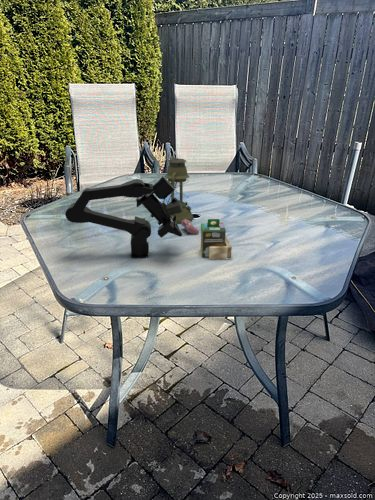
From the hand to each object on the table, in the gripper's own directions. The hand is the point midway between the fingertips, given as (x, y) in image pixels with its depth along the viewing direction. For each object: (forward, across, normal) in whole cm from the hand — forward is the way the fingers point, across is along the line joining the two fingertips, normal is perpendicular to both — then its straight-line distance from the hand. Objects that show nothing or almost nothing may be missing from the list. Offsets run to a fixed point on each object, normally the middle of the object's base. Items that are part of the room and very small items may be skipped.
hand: (181, 235), depth 149 cm
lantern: (+7, +42, +12) cm, 45 cm away
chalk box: (+14, 0, -4) cm, 15 cm away
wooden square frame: (+15, +1, -6) cm, 16 cm away
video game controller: (+10, +24, +5) cm, 26 cm away
